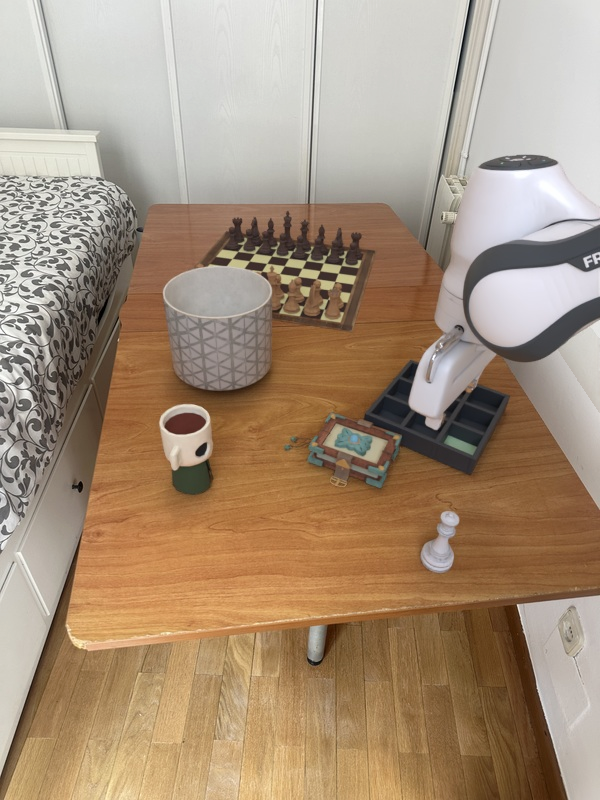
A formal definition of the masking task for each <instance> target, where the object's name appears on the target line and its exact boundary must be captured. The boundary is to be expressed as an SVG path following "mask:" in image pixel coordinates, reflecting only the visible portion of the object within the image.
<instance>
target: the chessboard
mask: <svg viewBox="0 0 600 800" xmlns="http://www.w3.org/2000/svg"><path fill="white" fill-rule="evenodd" d="M285 214H286V215H285V216H283V221H284V223H283V224H282V227H283V228H284V232H282V233H280V234H279V237H276V236H274V233H275V232H276V230H275V229H274V228H275V227H274V226H275V223H274V221H273V220H272V219H273V218H272V217H270V218H269V220H268V222H267V227H268V228H267V229H266V230H264V231H263V232H261V233H260V231H259V230H260V229H259V225H258V219H257V217H256V216H254V217H253V219H252V220H251V223H250V226H251V228H247V229H246V230H245V233H244V232H242V224H243V218H242V217H239V216H238V217H234V218H232V221H231V222H232V224H233V226H230V227H228V231H225V232H224V233H223V234H222V235H221V237H220V238H219V239H218V240H217V241H216V242H215V243H214V244H213V246H212V247H211V248H210V249H209V250H208V251H207V252H206V253H205V255H204V256H203V257H202V258H201V259H200V260H199V261H198V262H197V263H196V265H195V266H194V267H193V268H188V269H186V270H185V272H186V271H189V270H193V269H197V268H202V267H210V266H230V267H238V268H243V269H247V270H250V271H253V272H255V273H257V274H259V275H261V276H263V277H264V278H265V279H266V280H267V281H268V282H269V283H270V285H271V287H272V321H278V322H283V323H291V324H297V325H304V326H311V327H317V328H323V329H330V330H336V331H341V332H349V333H353V332H354V328H355V324H356V322H357V318H358V314H359V311H360V308H361V304H362V301H363V298H364V294H365V292H366V291H365V290H366V287H367V284H368V281H369V277H370V274H371V271H372V266H373V264H374V261H375V257H376V254H377V250H375V249H367V248H360V241H361V239H362V236H363V235H362V233H361V232H357V231H356V232H354V231H353V232H352V233H350V237H351V243H349V246H344V241H343V232H342V227H338V230H337V231H336V236H335V239H334V240H332V241H331V244H329V243H325V241H324V240H325V239H326V236H325V232H326V230H325V227H324V224H320V227H319V228H318V235H317V236H316V238H315V239H314V242H313V241H309V240H308V232H309V231H310V229H309V228H308V226H309V225H310V222H309V221H307V220H306V219H303V221H301V222H300V225H301V227H300V228H299V231H300V232H301V235H298V236H297V237H296V239H293V238H292V236H291V228H292V227H293V225H292V223H291V222H292V219H293V218H292V216H290V211H289V210H286V212H285ZM162 303H163V304H164V301H163V302H162Z"/></svg>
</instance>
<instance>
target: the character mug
mask: <svg viewBox="0 0 600 800" xmlns="http://www.w3.org/2000/svg"><path fill="white" fill-rule="evenodd" d="M158 424H159V425H158V426H159V431H160V437H161V443H162V448H163V452H164V455H165V458H166V460H167V461H168V462H170V467H171V480H172V481H171V483H172V487H174V488H175V490H176V491H178V492H179V493H183V494H186V495H194V496H195V495H198V494H202V493H204V492H205V491H207V490H208V489H209V488H210V487H211V480H212V481H213V480H214V475H213V471H212V465H211V463H210V458H211V456H212V453H213V449H214V441H213V438H212V436H213V435H212V429H213V427H212V420H211V416H210V414H209V411H207V410H206V409H205V408H203V407H202V406H200V405H196V404H194V403H193V404H191V403H183V404H182V403H181V404H177V405H174V406H172V407H170V408H168V409H167V410H165V411H164V412H163V413H162V414H161V416H160V418H159V422H158ZM210 476H211V477H210ZM210 478H211V480H210Z"/></svg>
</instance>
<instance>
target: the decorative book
mask: <svg viewBox="0 0 600 800" xmlns="http://www.w3.org/2000/svg"><path fill="white" fill-rule="evenodd" d="M401 438H402V435H400V434H397V433H394V432H391V431H388V430H385V429H382V428H379V427H376V426H373V423H372V422H369V421H366V420H364V418H363V419H361V418H359V419H354V418H352V417H349V416H346V415H343V414H339V413H337V412H330V413H329V415H328V416H327V418H326V419H325V421H324V425H323V426H322V428H320V429H319V432H318V434H317V435H314V437H313V438H309V437H298V436H296V437H295V436H291V437H290V441H292V442H295V443H296V442H297V441H298V439H299V440H300V439H301V440H309V442H306V443H303V444H300V445H297V446H295V445H292V444H286V445H285V444H284V449H285V450H290V449H291V448H300V447H302V446H304V445H308V444H309V445H308V446H307V447H308V451H310V454H309V455H308V456H307V462H308V463H310V464H313V465H316V466H318V467H326V468H328V469H331V470H333V471H334V474H333V475H331V477H330V478H329V483H330V484H331V485H333V486H334V487H338V488H346V487H347V485H348V480H349V478H350V477H353V478H355V479H357V480H361V481H364V482H365V483H366V484H367V485H370V486H373V487H376V488H378V489H382V487H383V485H384V483H385V481H386V480H387V476H388V471H389V469H390V468H391V465H392V463H393V462H395V460H396V458H397V456H398V454H399V452H400V446H401V445H400V442H401ZM333 481H335V482H333ZM339 484H342V485H339Z"/></svg>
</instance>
